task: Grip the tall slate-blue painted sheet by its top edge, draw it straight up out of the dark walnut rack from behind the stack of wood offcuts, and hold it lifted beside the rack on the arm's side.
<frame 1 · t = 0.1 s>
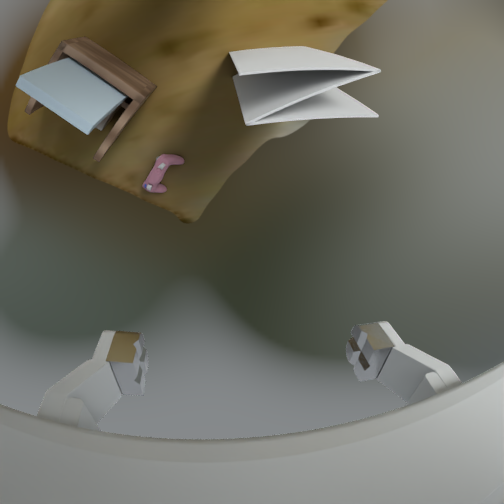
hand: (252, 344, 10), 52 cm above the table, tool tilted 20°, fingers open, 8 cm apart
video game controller: (164, 168, 60), on the table
rack: (100, 86, 44), on the table
brochure: (267, 60, 45), on the table
sheet: (111, 70, 42), resting in rack
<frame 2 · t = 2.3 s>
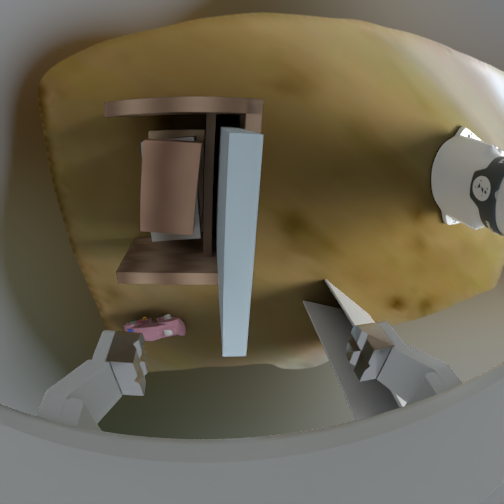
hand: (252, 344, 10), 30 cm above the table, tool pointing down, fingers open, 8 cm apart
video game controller: (156, 319, 46), on the table
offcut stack: (178, 177, 36), on the table
rack: (193, 178, 36), on the table
brochure: (338, 308, 50), on the table
sheet: (223, 178, 37), resting in rack
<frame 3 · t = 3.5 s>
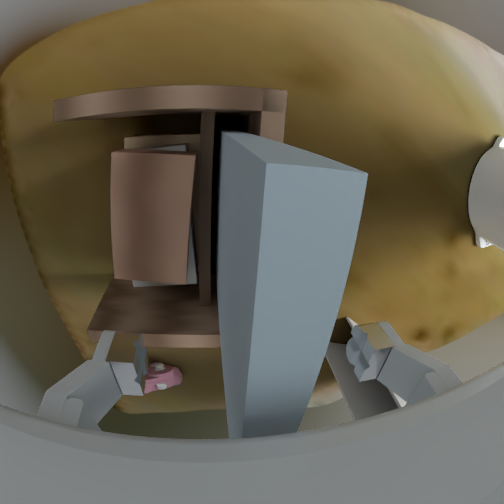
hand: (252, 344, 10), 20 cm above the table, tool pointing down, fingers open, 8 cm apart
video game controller: (147, 364, 37), on the table
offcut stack: (166, 198, 28), on the table
rack: (184, 199, 28), on the table
brochure: (358, 345, 41), on the table
sheet: (224, 199, 28), resting in rack
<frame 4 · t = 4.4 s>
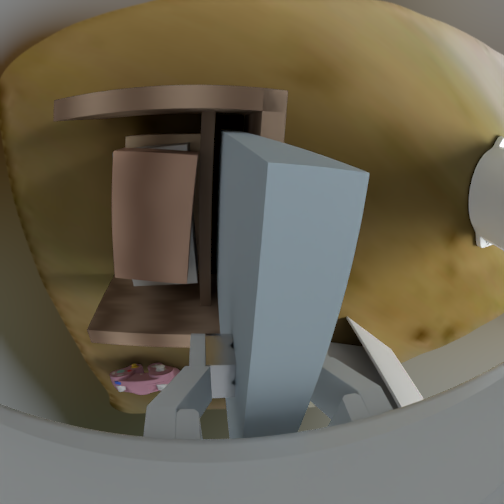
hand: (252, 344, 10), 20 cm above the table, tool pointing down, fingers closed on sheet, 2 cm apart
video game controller: (148, 365, 37), on the table
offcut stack: (167, 197, 28), on the table
rack: (185, 199, 28), on the table
brochure: (358, 345, 41), on the table
sheet: (225, 199, 28), resting in rack, touching gripper
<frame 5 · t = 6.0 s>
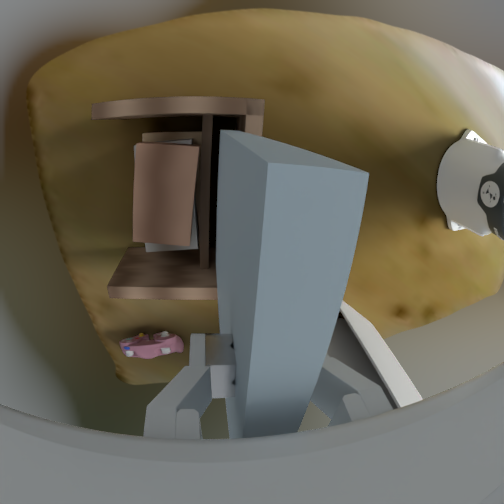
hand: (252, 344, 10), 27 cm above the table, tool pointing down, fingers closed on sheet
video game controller: (153, 335, 44), on the table
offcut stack: (174, 183, 34), on the table
rack: (188, 184, 34), on the table
brochure: (340, 318, 48), on the table
sheet: (225, 199, 28), point 7 cm above the table, touching gripper
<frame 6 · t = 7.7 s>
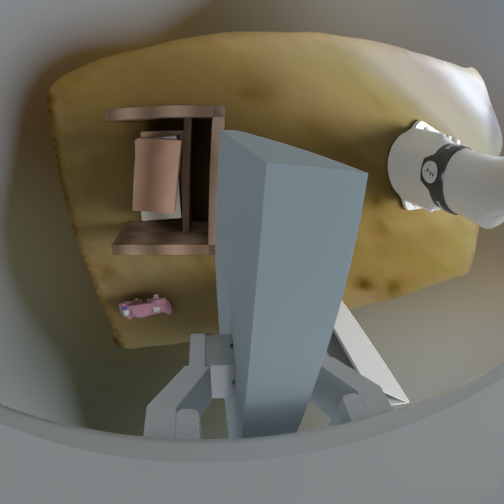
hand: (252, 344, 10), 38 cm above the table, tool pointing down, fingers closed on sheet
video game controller: (147, 300, 53), on the table
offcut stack: (164, 170, 43), on the table
rack: (175, 171, 44), on the table
brochure: (306, 286, 57), on the table
sheet: (224, 199, 28), point 18 cm above the table, touching gripper
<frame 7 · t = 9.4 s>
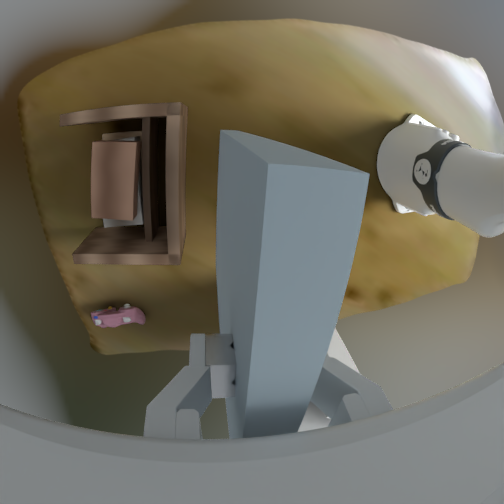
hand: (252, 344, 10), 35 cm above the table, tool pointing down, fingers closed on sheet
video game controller: (120, 308, 50), on the table
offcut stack: (130, 173, 40), on the table
rack: (141, 174, 40), on the table
brochure: (286, 295, 53), on the table
sheet: (225, 199, 28), point 15 cm above the table, touching gripper
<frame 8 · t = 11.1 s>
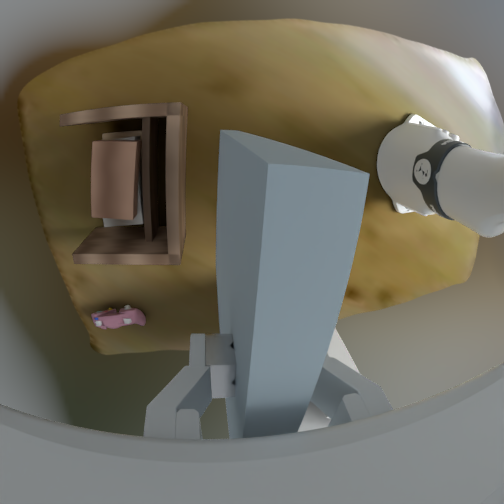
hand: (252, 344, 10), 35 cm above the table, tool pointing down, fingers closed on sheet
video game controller: (121, 310, 50), on the table
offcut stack: (130, 172, 40), on the table
rack: (141, 174, 40), on the table
brochure: (286, 295, 53), on the table
sheet: (225, 199, 28), point 15 cm above the table, touching gripper
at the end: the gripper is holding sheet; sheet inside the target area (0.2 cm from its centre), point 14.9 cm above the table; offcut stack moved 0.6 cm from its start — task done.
